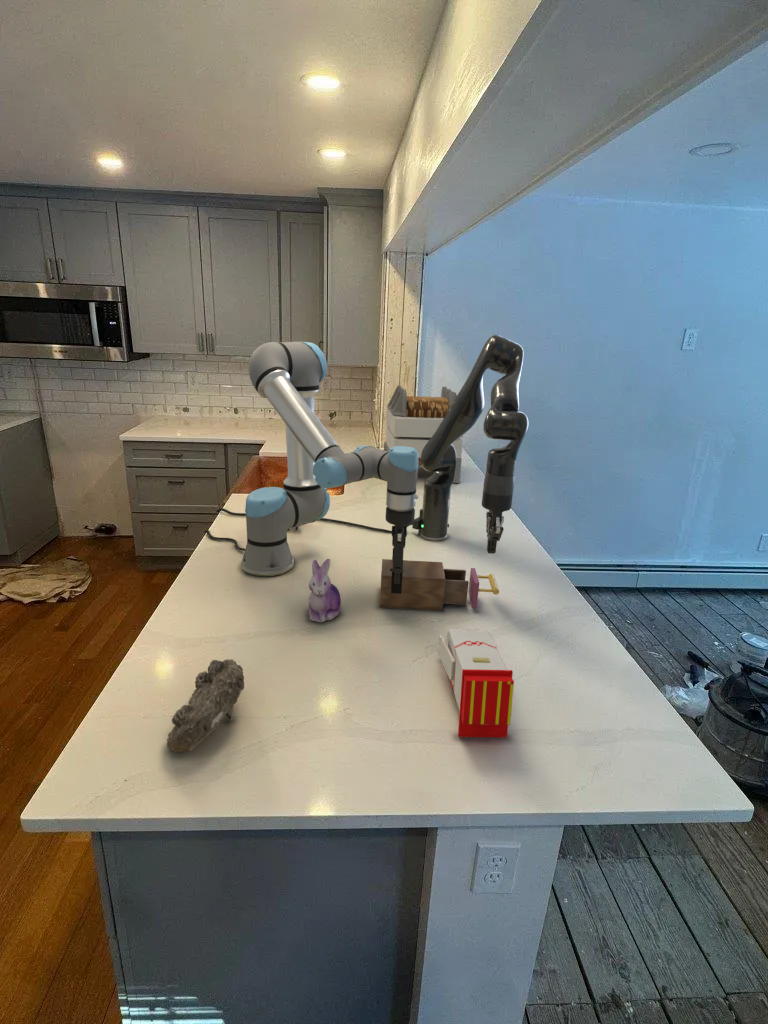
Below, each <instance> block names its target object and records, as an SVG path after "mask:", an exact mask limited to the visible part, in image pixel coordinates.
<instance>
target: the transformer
mask: <svg viewBox="0 0 768 1024" xmlns="http://www.w3.org/2000/svg"><path fill="white" fill-rule="evenodd" d="M440 393H441V394H440V396H415V395H414V396H413V395H412V396H411V395H407V394H408V393H407V390H406V389H404V388H403V387H402V385H399V384H398V385H397V386H396V388H395V390H394V392H393V394H392V395H391V398H390V400H389V402H388V404H387V405H386V413H385V414H386V415H385V423H386V428H385V438H384V442H383V450H384V451H388V452H389V450H390V448H392V447H395V446H405V447H412V448H414V449H416V450H417V452H418V465H419V467H422V465H421V461H420V457H421V453H422V450H423V448H424V447H425V445H426V444H427V442H428V441H429V440H430V439H431V437H432V436H433V435H434V433H435V432H436V430H437V429H438V427H439V426H440V424H441V422H442V421H443V419H444V417H445V416H446V414H447V412H448V410H449V408H450V407H451V405H452V403H453V401H454V400H455V398H456V396H457V395H458V394H457V392H455V391H453V390H452V389H451V388H447V386H442V387H441V392H440ZM463 438H464V434H463V435H462V436H461V437H460V438H458V439H457V440H456V441H454V442H453V443H452V445H453V446H454V448H455V450H456V456H457V460H456V469H455V475H454V482H453V484H455V483H456V484H459V483H461V472H462V461H463V460H462V453H463V442H464V441H463V440H462V439H463Z"/></svg>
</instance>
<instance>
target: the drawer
mask: <svg viewBox="0 0 768 1024" xmlns="http://www.w3.org/2000/svg"><path fill="white" fill-rule="evenodd" d="M444 574H445V588H444V599H443V605H460V606H461V605H462V606H463V605H464V606H465V605H466V606H467V604H468V602H467V601H468V598H469V601H470V605H471V608H472V609H477V608H478V599H479V592H481V593H482V592H483V593H492V594H494V595H496V596H497V595H499V594H500V589H499V585H498V584H497V580H496V577H495V575H494V574H493V573H489V574H488V575H481V574H479V575H478V573H477V569H476V568H475V567H470V572H469V580H466V574H467V570H466V569H454V568H444ZM479 579H488V582H489V585H490V587H491V588H480V580H479ZM468 596H469V597H468Z"/></svg>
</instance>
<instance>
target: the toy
mask: <svg viewBox="0 0 768 1024" xmlns="http://www.w3.org/2000/svg"><path fill="white" fill-rule="evenodd" d="M446 640H447V643H446V641H445V639H444V636H443V635H442V634H439V637H438V646H437V656H438V657H439V659H440V661H441V663H442V666H443V668H444V670H445V672H446V674H447V677H448V679H449V681H450V684H451V687H452V690H453V693H454V697H455V701H456V705H457V708H458V711H459V714H458V715H459V716H458V730H457V731H458V732H457V737H458V738H508V731H509V726H510V725H511V717H512V707H513V697H514V696H513V695H514V684H515V680H514V679H513V673H514V671H513V670H512V669H508V667H507V665H506V662H505V661H504V659H503V658H502V655H501V653H500V651H499V649H498V647H497V643H496V639H495V637H494V635H493V634H491V632H490V631H489V629H467V628H466V629H465V628H463V629H461V628H460V629H459V628H448V630H447V639H446Z"/></svg>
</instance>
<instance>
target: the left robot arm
mask: <svg viewBox="0 0 768 1024" xmlns="http://www.w3.org/2000/svg"><path fill="white" fill-rule="evenodd" d="M327 373H328V363H327V359H326V356H325V353H324V352H323V351H322V350H321V347H319V346H318V345H317V344H316V343H314V342H308V341H301V340H299V341H277V342H276V341H270V342H265V343H262V344H261V345H259V346H258V347H256V349H254V351H253V352H252V354H251V356H250V358H249V361H248V374H249V379H250V382H251V385H252V386H253V388H254V390H255V391H256V393H257V394H258V395H259V396H260V397H261V398H263V399H267V401H268V402H269V403H270V404H271V406H272V407H273V409H274V410H275V411H276V413H277V414H278V416H279V417H280V418H281V420H282V421H283V422H284V424H285V440H286V459H287V460H286V461H287V462H286V463H287V476H286V477H285V479H284V480H283V482H282V486H283V488H282V487H279V486H269V487H268V486H265V487H260V488H257V489H255V490H253V491H252V492H250V493H249V494H248V495H247V497H246V499H245V507H244V513H246V516H245V522H246V523H245V524H246V525H245V526H246V545H245V547H240V546H239V545H238V544H239V543H238V541H237V540H236V539H234V538H231V537H217V536H213V534H211V531H210V530H209V529H205V530H204V534H207V535H208V537H209V538H210V539H212V540H216V541H230V542H233V543H234V547H235V549H236V550H238V551H241V552H243V554H242V559H241V569H242V570H243V572H245V573H246V574H249V575H252V576H254V577H255V576H256V577H274V576H275V577H276V576H280V575H283V574H286V573H287V572H289V571H291V570H292V569H293V568H294V561H295V557H294V556H293V554H292V551H291V549H290V545H289V542H288V530H287V529H289V530H290V529H295V528H296V527H297V526H300V525H301V526H303V525H308V524H311V523H315V522H317V521H320V520H319V519H321V518H325V516H327V514H328V512H329V511H330V507H331V497H330V493H329V492H328V489H333V488H339V487H342V486H345V485H349V484H351V483H356V482H361V481H365V480H369V479H377V480H380V481H384V482H386V495H385V496H386V497H385V498H386V499H385V505H386V507H385V521H386V522H387V524H390V525H391V531H392V533H391V538H392V539H391V545H392V547H393V548H392V557H391V558H392V559H391V560H393V568H392V569H391V568H390V571H392V582H391V593H394V594H401V591H402V575H403V560H404V552H405V550H404V549H405V548H406V543H407V542H406V540H407V535H408V527H406V525H410V524H412V523H413V522H414V519H416V517H415V516H416V509H415V507H416V500H418V499H419V495H417V483H418V474H419V467H420V466H419V465H418V452H417V450H416V449H414V448H412V447H405V446H395V447H392V448H390V450H389V452H388V451H384V449H380V448H377V447H375V446H373V445H359V446H357V447H356V448H355V449H354V450H353V451H352V452H347V453H346V452H344V450H343V449H342V448H341V446H340V445H339V444H338V443H337V441H336V440H335V439H334V438H333V436H332V435H331V434H330V432H329V431H328V430H327V428H326V427H325V426H324V425H323V423H322V422H321V420H320V419H319V418H318V416H317V415H316V414H315V396H316V395H317V394H318V393H319V391H320V384H321V382H322V381H324V379H326V375H327ZM301 526H300V527H301ZM410 526H411V525H410ZM294 527H295V528H294Z"/></svg>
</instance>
